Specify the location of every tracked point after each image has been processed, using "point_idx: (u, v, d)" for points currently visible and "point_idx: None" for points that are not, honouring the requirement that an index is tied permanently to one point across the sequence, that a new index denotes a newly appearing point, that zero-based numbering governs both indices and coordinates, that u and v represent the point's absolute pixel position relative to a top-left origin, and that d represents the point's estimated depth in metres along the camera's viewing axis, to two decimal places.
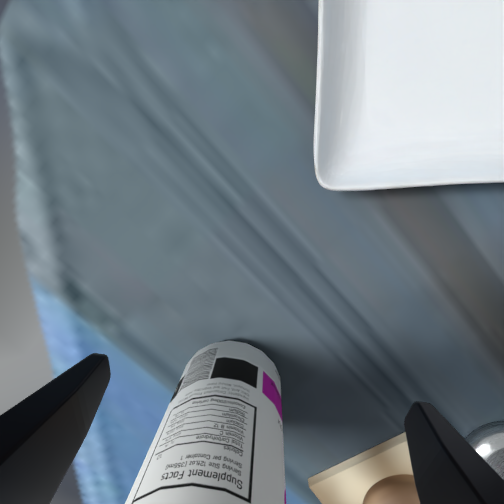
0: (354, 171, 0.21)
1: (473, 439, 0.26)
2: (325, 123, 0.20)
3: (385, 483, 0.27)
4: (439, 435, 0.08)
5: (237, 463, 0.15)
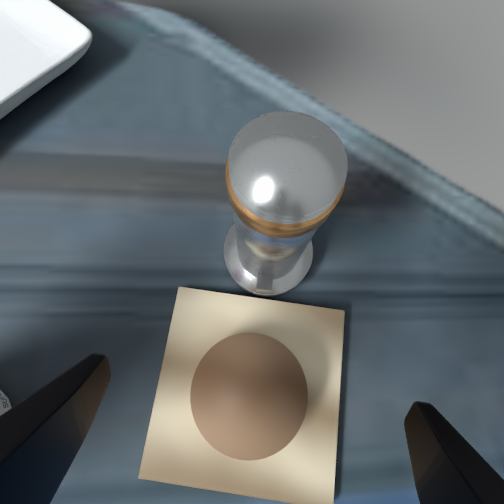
0: None
1: None
2: None
3: None
4: (439, 435, 0.08)
5: None
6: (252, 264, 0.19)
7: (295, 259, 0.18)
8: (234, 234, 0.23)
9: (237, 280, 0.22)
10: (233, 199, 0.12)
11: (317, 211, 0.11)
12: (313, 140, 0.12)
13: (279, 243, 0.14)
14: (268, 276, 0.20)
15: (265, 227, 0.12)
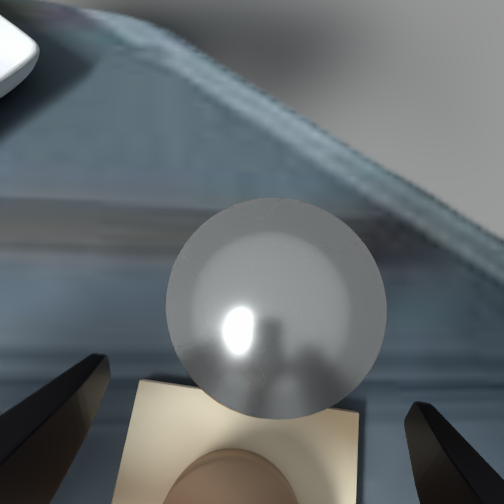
0: None
1: None
2: None
3: None
4: (439, 435, 0.08)
5: None
6: None
7: None
8: None
9: None
10: (179, 358, 0.07)
11: (332, 402, 0.06)
12: (322, 255, 0.07)
13: None
14: None
15: None
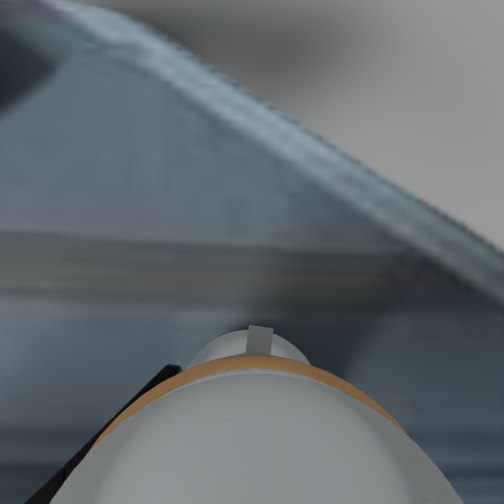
0: None
1: None
2: None
3: None
4: None
5: None
6: None
7: None
8: None
9: None
10: None
11: None
12: None
13: None
14: None
15: None
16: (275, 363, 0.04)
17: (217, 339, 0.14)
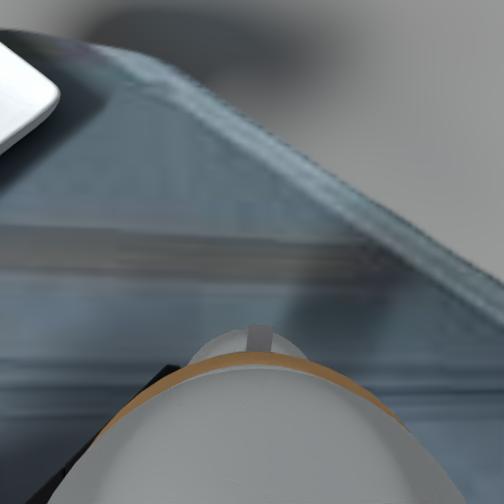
0: None
1: None
2: None
3: None
4: None
5: None
6: None
7: None
8: None
9: None
10: None
11: None
12: None
13: None
14: None
15: None
16: (275, 359, 0.04)
17: (217, 338, 0.15)
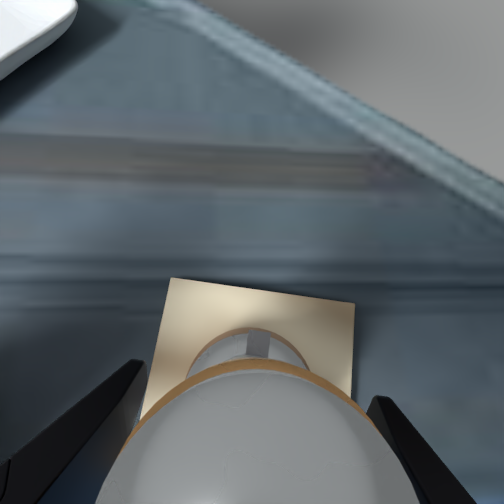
0: None
1: None
2: None
3: None
4: (393, 428, 0.08)
5: None
6: None
7: None
8: None
9: None
10: None
11: None
12: (332, 478, 0.04)
13: None
14: None
15: None
16: (271, 365, 0.05)
17: (219, 342, 0.16)
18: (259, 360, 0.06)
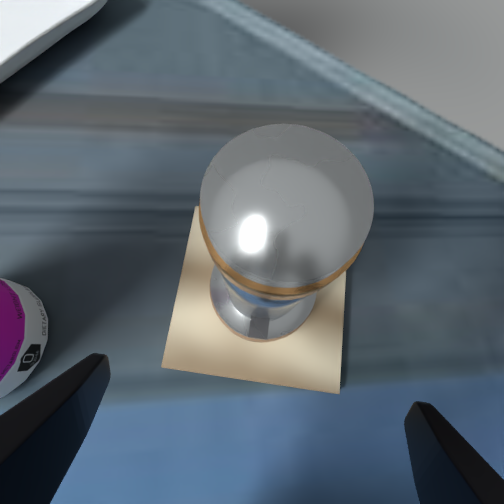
0: None
1: None
2: None
3: None
4: (439, 435, 0.08)
5: None
6: (243, 309, 0.16)
7: (296, 305, 0.15)
8: None
9: (226, 322, 0.18)
10: (209, 250, 0.09)
11: (330, 273, 0.08)
12: (323, 166, 0.08)
13: (275, 300, 0.11)
14: (263, 321, 0.16)
15: (254, 290, 0.09)
16: None
17: None
18: None
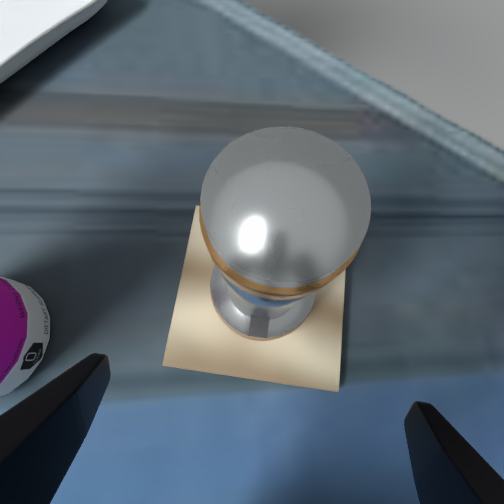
0: None
1: None
2: None
3: None
4: (439, 435, 0.08)
5: None
6: (243, 308, 0.16)
7: None
8: None
9: (226, 320, 0.19)
10: (209, 251, 0.09)
11: (328, 273, 0.08)
12: (321, 168, 0.09)
13: (274, 300, 0.11)
14: (263, 320, 0.17)
15: (254, 290, 0.09)
16: None
17: None
18: None
